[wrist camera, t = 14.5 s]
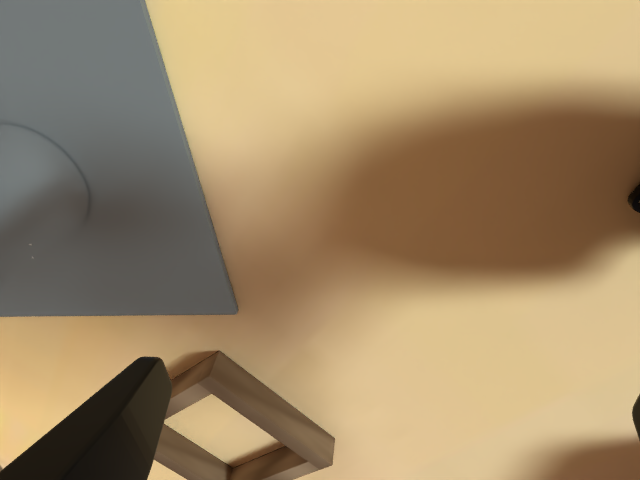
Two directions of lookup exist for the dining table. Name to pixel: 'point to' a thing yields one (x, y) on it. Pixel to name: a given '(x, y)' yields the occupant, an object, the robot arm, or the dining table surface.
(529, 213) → the dining table surface
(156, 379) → the robot arm
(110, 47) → the slate mat
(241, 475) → the walnut holder
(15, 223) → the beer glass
